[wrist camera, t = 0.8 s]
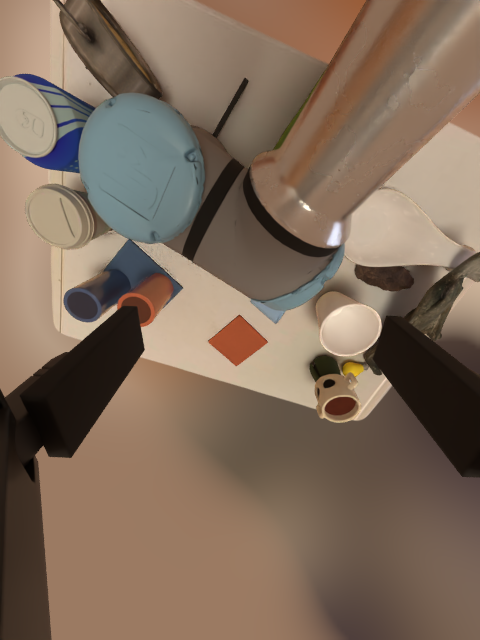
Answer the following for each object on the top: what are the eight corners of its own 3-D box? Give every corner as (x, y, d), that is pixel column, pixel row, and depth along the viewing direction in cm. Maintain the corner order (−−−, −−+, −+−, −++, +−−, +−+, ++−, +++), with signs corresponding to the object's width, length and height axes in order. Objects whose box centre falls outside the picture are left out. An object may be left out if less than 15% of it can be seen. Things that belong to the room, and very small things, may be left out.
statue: (369, 385, 51) (509, 266, 29) (349, 362, 55) (463, 239, 33) (399, 371, 55) (542, 257, 34) (379, 350, 59) (498, 234, 37)
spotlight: (288, 286, 49) (256, 273, 48) (297, 307, 40) (258, 291, 39) (277, 307, 51) (246, 295, 50) (283, 331, 42) (246, 317, 41)
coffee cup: (118, 247, 46) (79, 262, 36) (72, 224, 45) (17, 233, 34) (131, 202, 43) (92, 205, 32) (82, 176, 41) (23, 169, 31)
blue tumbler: (111, 262, 48) (75, 280, 38) (136, 284, 49) (108, 306, 39) (94, 283, 49) (56, 305, 40) (119, 303, 51) (89, 329, 41)
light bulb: (344, 363, 54) (349, 380, 53) (369, 357, 54) (375, 373, 54) (337, 364, 57) (342, 379, 56) (361, 358, 58) (366, 374, 57)
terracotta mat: (239, 314, 52) (239, 315, 52) (267, 341, 55) (267, 342, 54) (208, 341, 55) (208, 342, 55) (236, 365, 58) (236, 366, 58)
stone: (361, 252, 46) (348, 277, 48) (364, 255, 44) (351, 281, 46) (416, 269, 46) (401, 293, 48) (423, 273, 44) (406, 298, 46)
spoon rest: (320, 250, 45) (332, 259, 39) (351, 179, 40) (370, 176, 34) (435, 285, 48) (464, 300, 41) (478, 222, 42) (519, 227, 36)
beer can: (99, 185, 42) (21, 180, 28) (66, 128, 39) (-42, 89, 24) (141, 163, 40) (81, 146, 26) (110, 102, 37) (23, 43, 23)
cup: (296, 299, 50) (308, 325, 40) (342, 271, 47) (366, 291, 37) (320, 334, 53) (336, 365, 44) (364, 310, 51) (391, 338, 41)
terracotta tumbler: (155, 266, 48) (131, 285, 38) (179, 288, 49) (162, 311, 40) (137, 286, 50) (109, 309, 40) (161, 307, 51) (140, 333, 42)
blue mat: (129, 238, 46) (128, 239, 45) (183, 287, 50) (182, 288, 49) (93, 283, 50) (92, 284, 50) (145, 325, 54) (144, 326, 54)
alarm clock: (175, 107, 37) (127, 50, 22) (149, 133, 38) (89, 97, 24) (120, 23, 33) (19, -111, 19) (94, 56, 35) (-18, -44, 20)
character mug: (325, 341, 54) (345, 381, 42) (350, 355, 55) (377, 397, 44) (296, 375, 58) (307, 420, 47) (320, 387, 60) (337, 433, 48)
